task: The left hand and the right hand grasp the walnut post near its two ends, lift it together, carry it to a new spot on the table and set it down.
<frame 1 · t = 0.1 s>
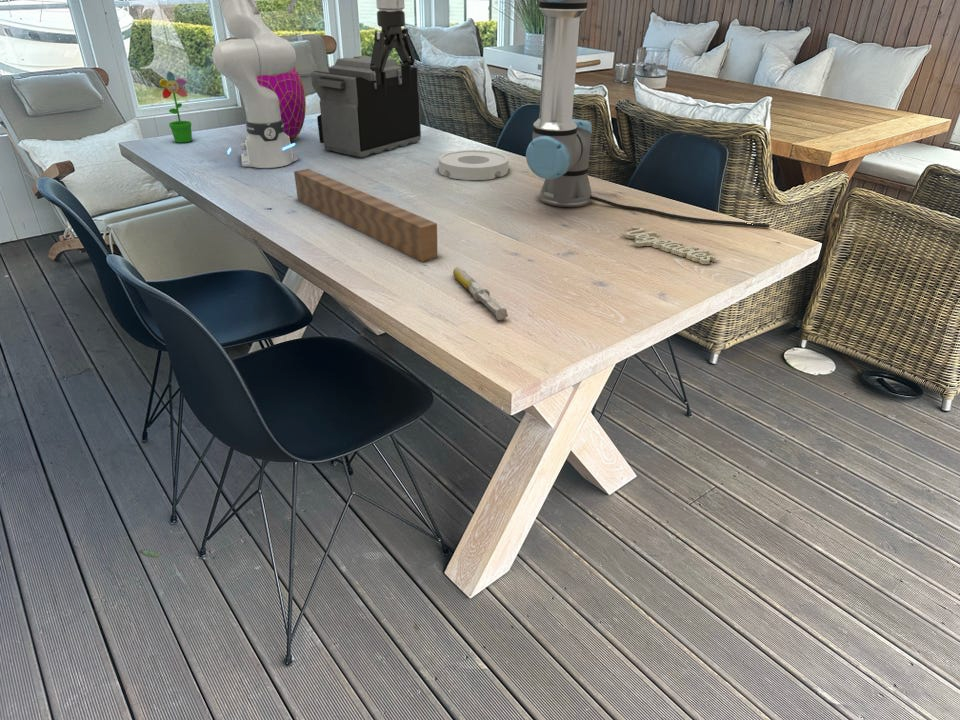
left hand: (273, 13, 188), 48 cm above the table, tool pointing down, fingers open, 8 cm apart
right hand: (394, 93, 197), 28 cm above the table, tool pointing down, fingers open, 13 cm apart
cooler box: (371, 146, 258), on the table
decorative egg: (284, 140, 265), on the table
ashtray: (473, 171, 230), on the table
potted flower: (184, 141, 262), on the table
post: (360, 226, 182), on the table
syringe: (478, 297, 145), on the table
decorative sign: (664, 248, 171), on the table
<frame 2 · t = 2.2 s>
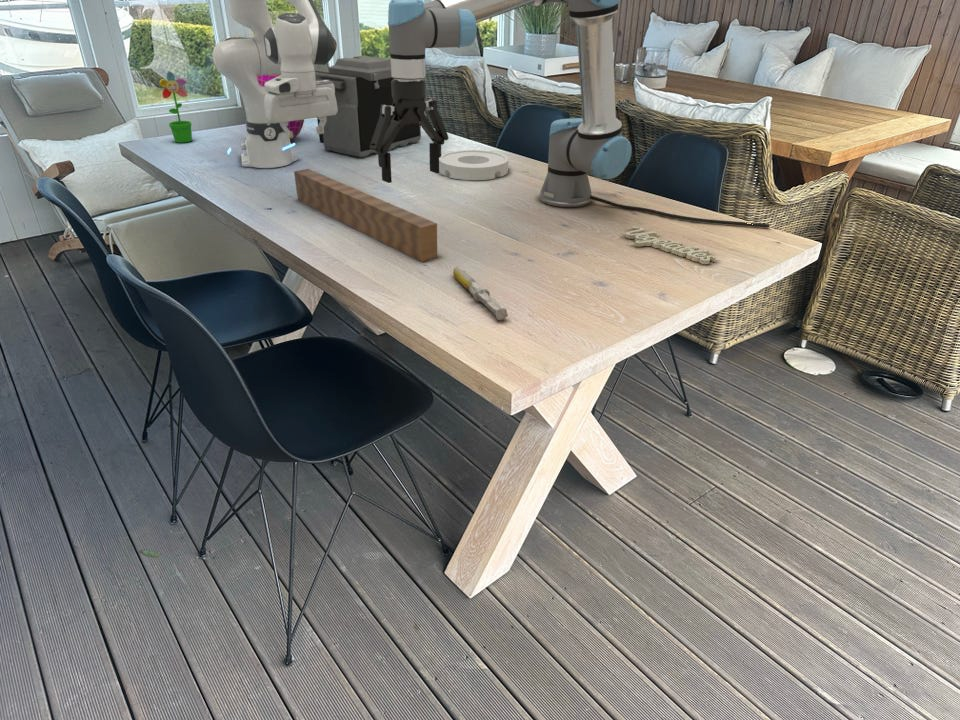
left hand: (305, 135, 189), 19 cm above the table, tool pointing down, fingers open, 8 cm apart
right hand: (411, 176, 160), 18 cm above the table, tool pointing down, fingers open, 13 cm apart
nothing on the table moved.
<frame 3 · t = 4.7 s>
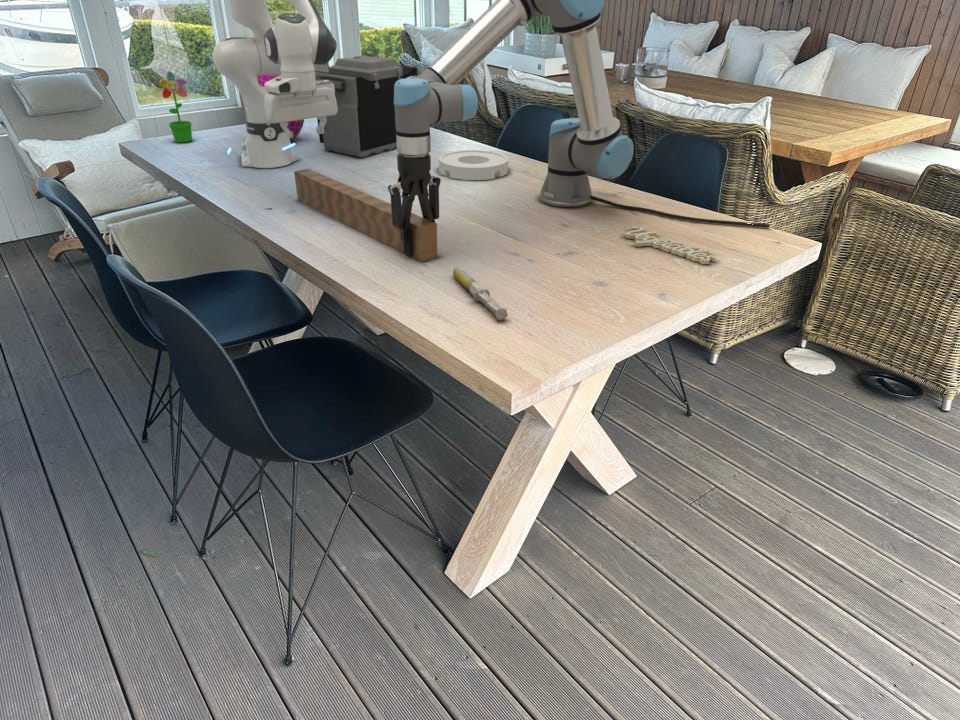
left hand: (305, 135, 189), 19 cm above the table, tool pointing down, fingers open, 8 cm apart
right hand: (417, 251, 165), 1 cm above the table, tool pointing down, fingers closed on post, 5 cm apart
post: (360, 226, 182), on the table, touching right hand
everything else where it was.
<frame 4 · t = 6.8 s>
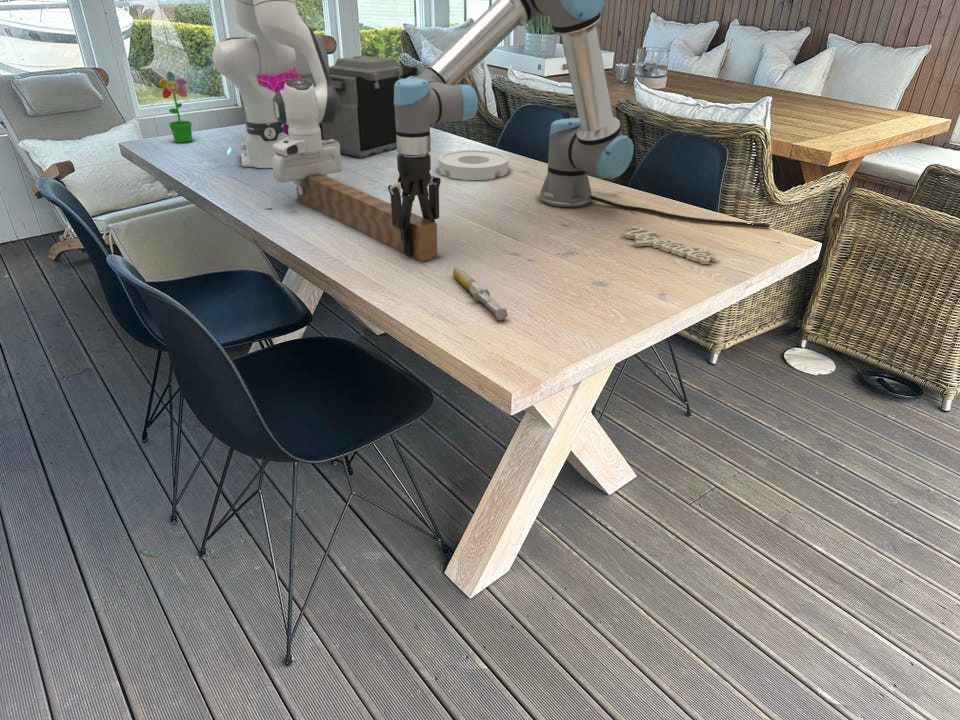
left hand: (311, 192, 197), 3 cm above the table, tool pointing down, fingers closed on post, 4 cm apart
right hand: (417, 251, 165), 1 cm above the table, tool pointing down, fingers closed on post, 5 cm apart
post: (360, 226, 182), on the table, touching right hand, left hand
everything else where it was.
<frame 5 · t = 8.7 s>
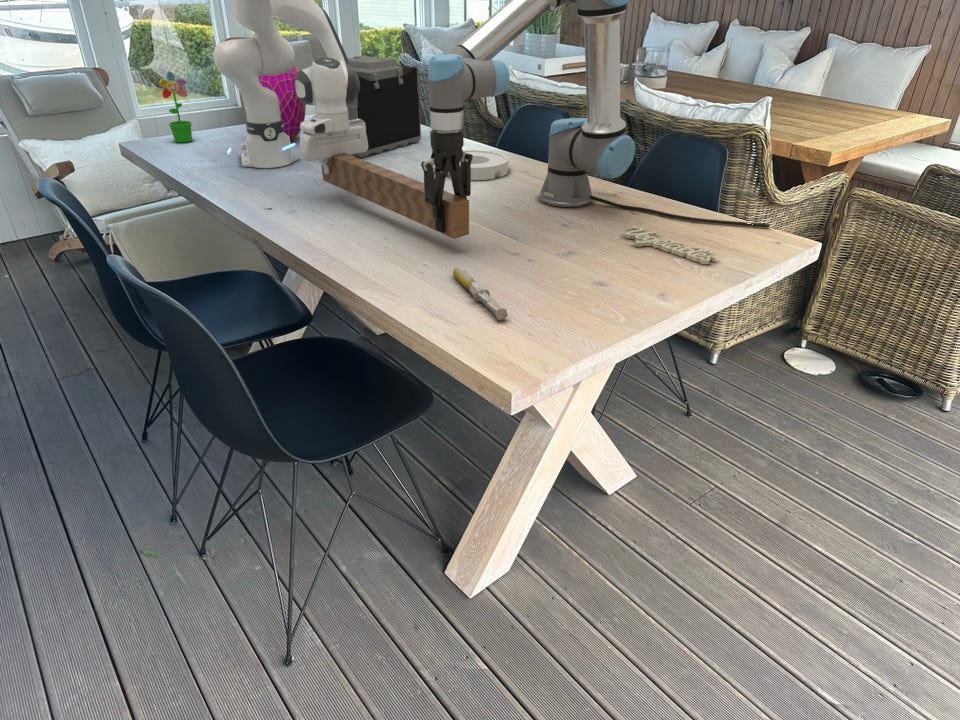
left hand: (337, 171, 198), 8 cm above the table, tool pointing down, fingers closed on post, 4 cm apart
right hand: (448, 228, 166), 5 cm above the table, tool pointing down, fingers closed on post, 5 cm apart
post: (388, 204, 183), point 5 cm above the table, touching right hand, left hand
everything else where it was.
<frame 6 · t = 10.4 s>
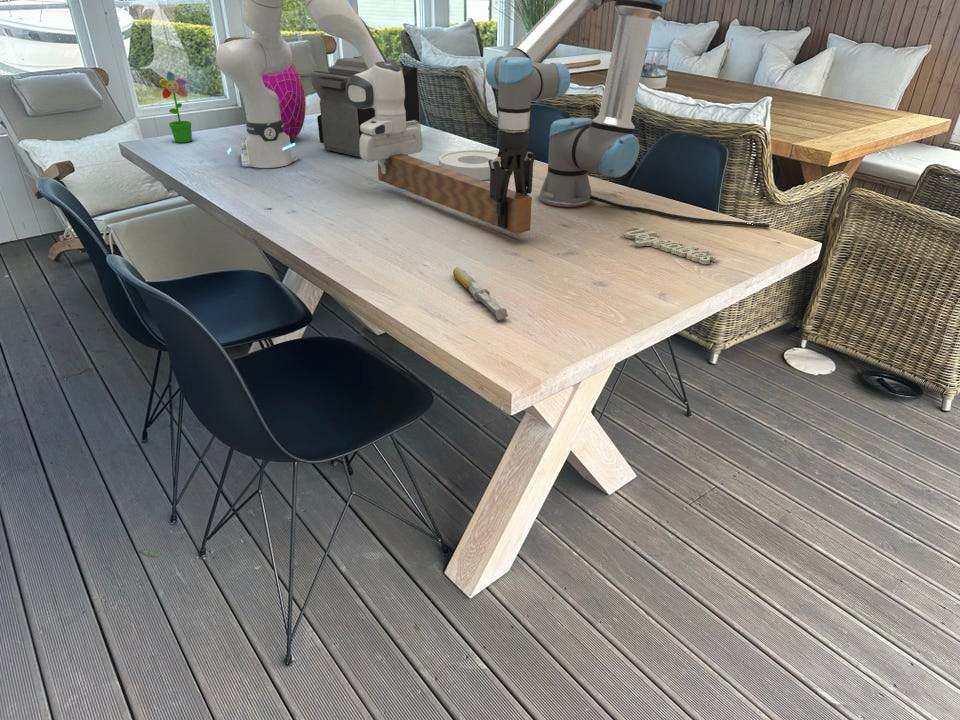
left hand: (393, 171, 205), 6 cm above the table, tool pointing down, fingers closed on post, 4 cm apart
right hand: (509, 224, 173), 4 cm above the table, tool pointing down, fingers closed on post, 5 cm apart
post: (447, 202, 190), point 3 cm above the table, touching right hand, left hand
everything else where it was.
when the right hand's fingers open (2 cm above the table, at t = 10.8 s): post drops 1 cm, on the table.
when the left hand's fingers open (5 cm above the table, at t = 11.0 s): post stays where it is, on the table.
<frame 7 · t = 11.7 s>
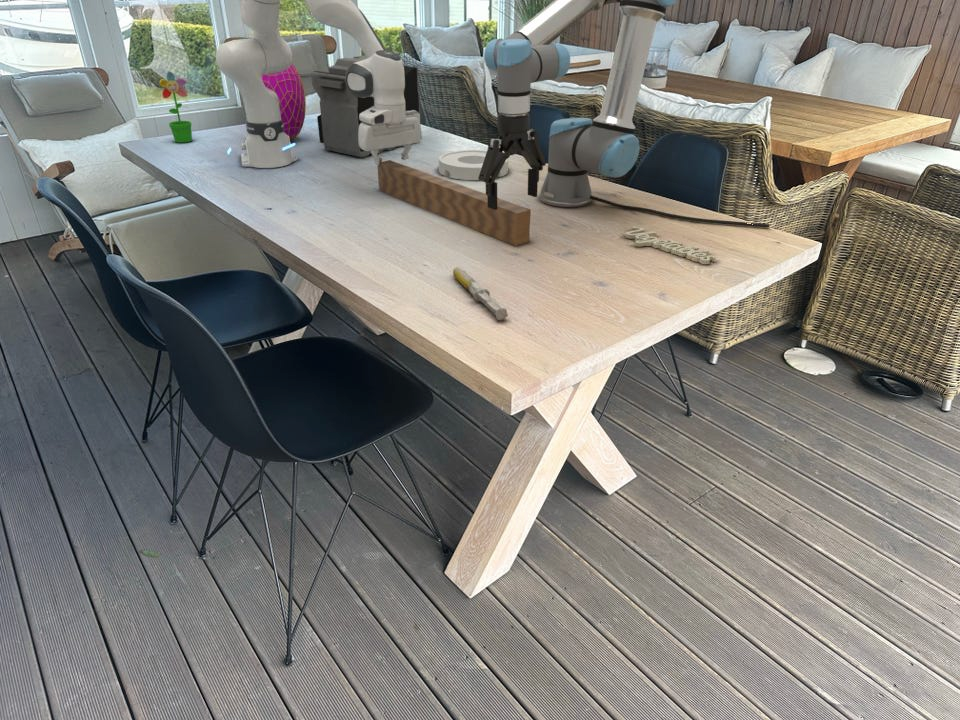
left hand: (391, 161, 204), 9 cm above the table, tool pointing down, fingers open, 8 cm apart
right hand: (512, 201, 171), 10 cm above the table, tool pointing down, fingers open, 13 cm apart
post: (446, 213, 192), on the table
everything else where it was.
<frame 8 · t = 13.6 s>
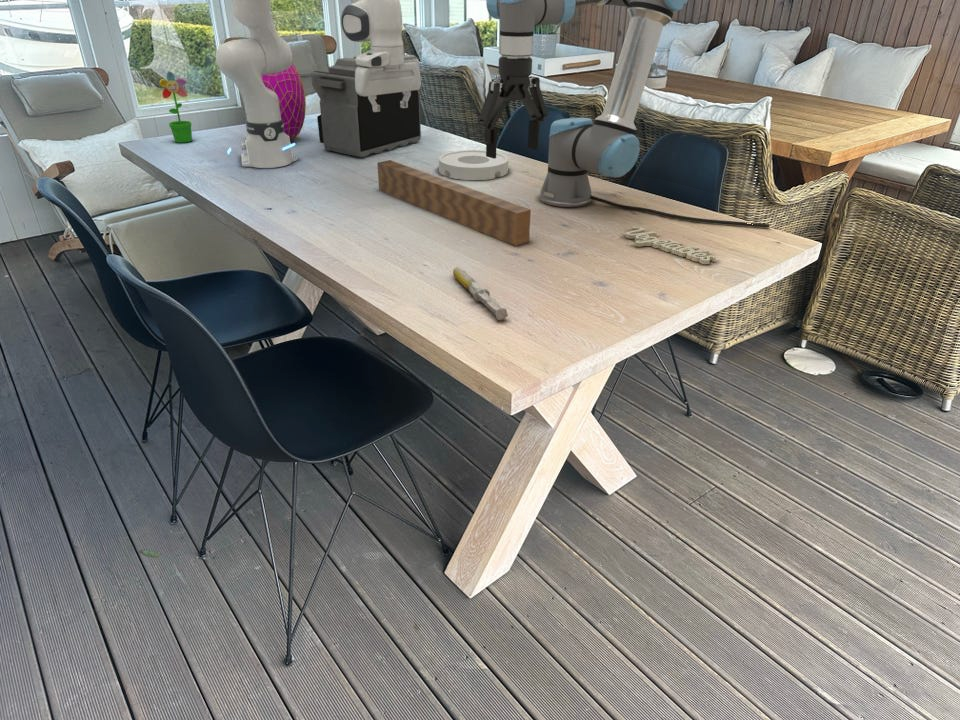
left hand: (390, 109, 196), 24 cm above the table, tool pointing down, fingers open, 8 cm apart
right hand: (512, 152, 164), 22 cm above the table, tool pointing down, fingers open, 13 cm apart
nothing on the table moved.
at the end: post inside the target area (0.2 cm from its centre), on the table; post tilted 0°; post never tilted more than 2° during the clip; both hands held the post at the same time; the left hand is holding nothing; the right hand is holding nothing; post at rest at the end (0.0 cm/s) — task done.
